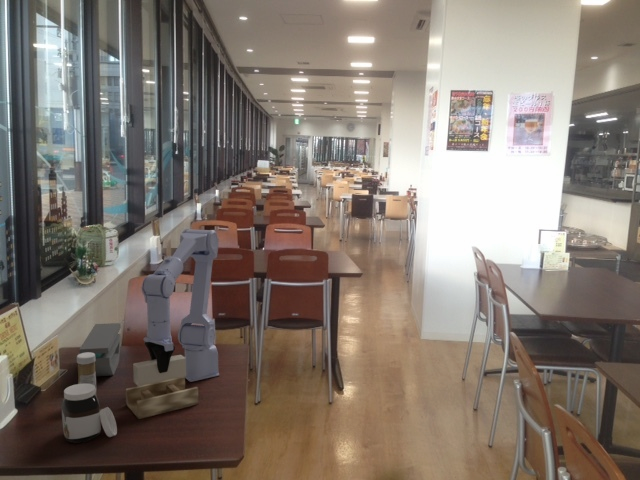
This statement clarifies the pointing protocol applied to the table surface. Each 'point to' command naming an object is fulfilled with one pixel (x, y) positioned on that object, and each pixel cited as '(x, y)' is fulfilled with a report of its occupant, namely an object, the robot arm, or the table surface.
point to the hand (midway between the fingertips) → (160, 369)
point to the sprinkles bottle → (86, 369)
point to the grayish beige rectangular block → (150, 374)
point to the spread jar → (85, 414)
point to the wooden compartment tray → (160, 397)
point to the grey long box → (104, 347)
